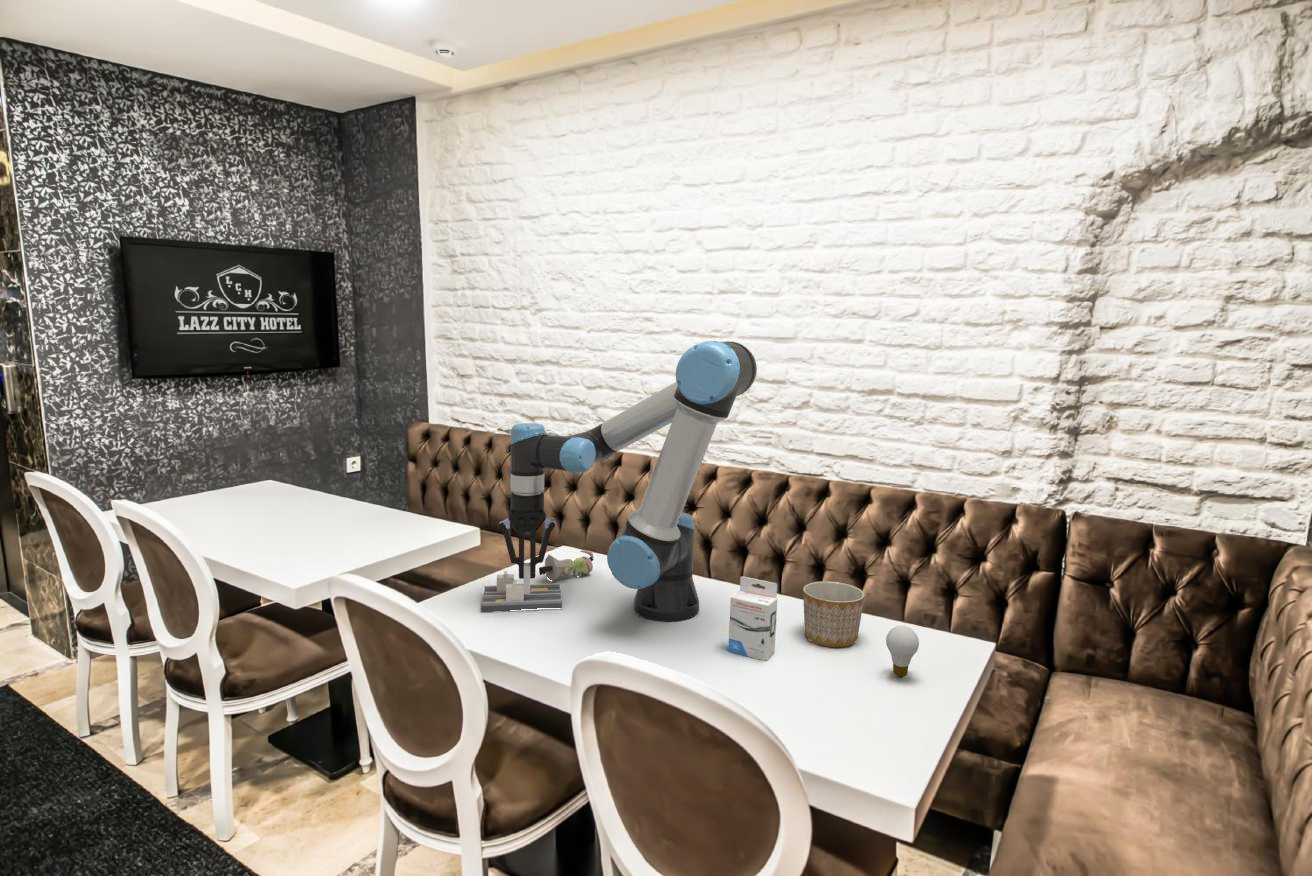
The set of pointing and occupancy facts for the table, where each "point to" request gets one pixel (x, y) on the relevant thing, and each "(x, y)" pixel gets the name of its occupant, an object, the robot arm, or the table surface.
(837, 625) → the planter
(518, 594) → the tab
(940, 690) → the table surface
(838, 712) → the table surface
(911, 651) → the light bulb
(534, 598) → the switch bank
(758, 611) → the ink box
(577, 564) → the figurine
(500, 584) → the tab
